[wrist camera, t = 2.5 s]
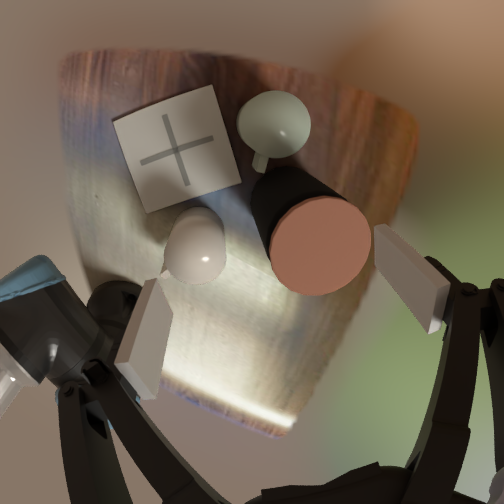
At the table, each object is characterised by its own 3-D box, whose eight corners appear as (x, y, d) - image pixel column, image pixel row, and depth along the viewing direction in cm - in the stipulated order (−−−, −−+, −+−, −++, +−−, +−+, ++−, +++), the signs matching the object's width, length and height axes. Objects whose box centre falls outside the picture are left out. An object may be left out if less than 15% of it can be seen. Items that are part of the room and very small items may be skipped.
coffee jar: (250, 233, 46) (269, 301, 30) (248, 166, 41) (269, 199, 25) (315, 229, 47) (363, 290, 30) (318, 164, 42) (377, 196, 26)
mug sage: (244, 90, 36) (251, 82, 28) (297, 105, 38) (318, 102, 30) (226, 157, 40) (228, 167, 32) (279, 169, 42) (294, 183, 34)
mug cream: (202, 196, 42) (198, 215, 34) (234, 235, 45) (238, 262, 37) (152, 236, 44) (139, 263, 36) (185, 270, 47) (180, 302, 39)
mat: (147, 212, 42) (146, 214, 41) (114, 122, 35) (112, 122, 35) (241, 181, 42) (241, 182, 41) (212, 85, 35) (212, 84, 34)
